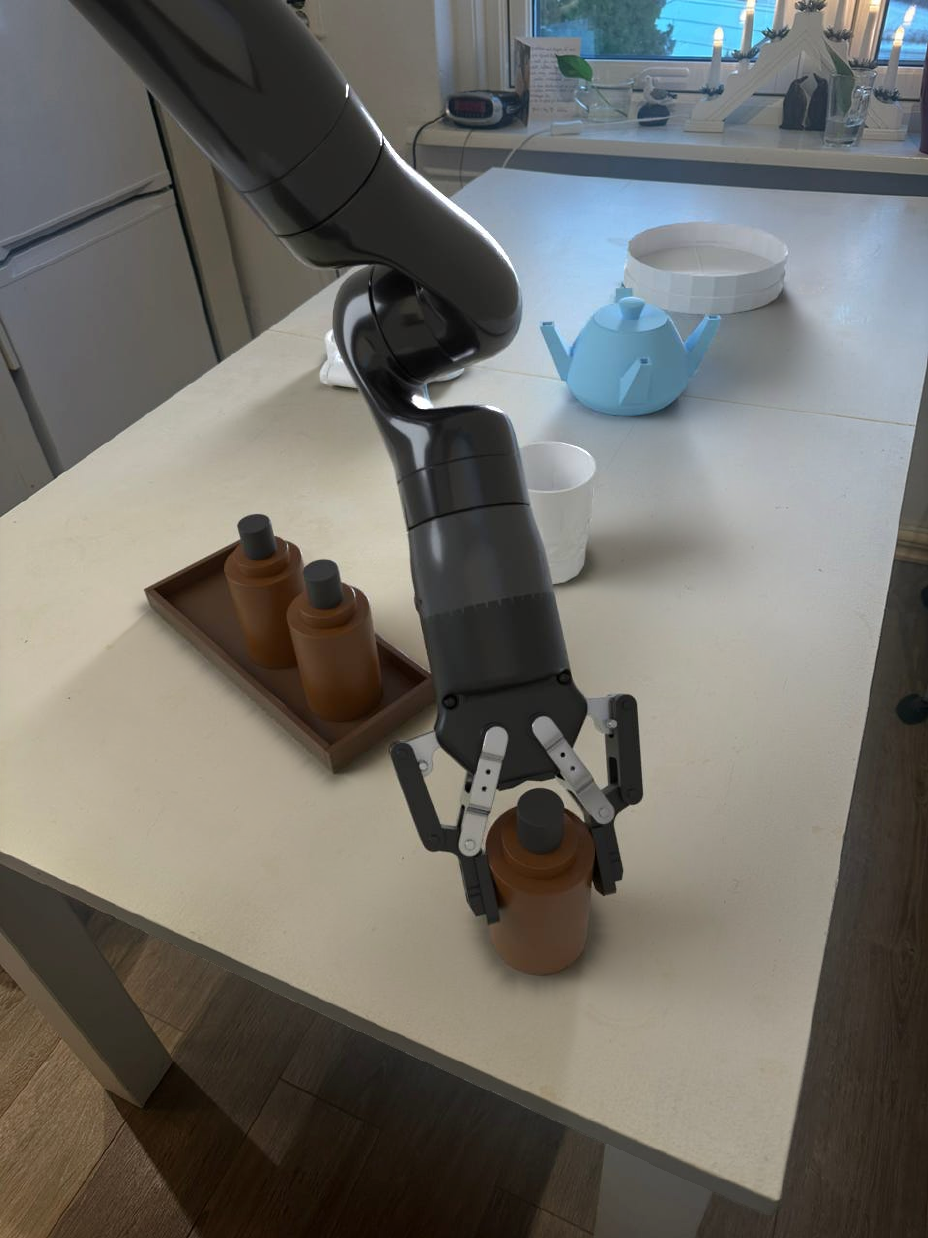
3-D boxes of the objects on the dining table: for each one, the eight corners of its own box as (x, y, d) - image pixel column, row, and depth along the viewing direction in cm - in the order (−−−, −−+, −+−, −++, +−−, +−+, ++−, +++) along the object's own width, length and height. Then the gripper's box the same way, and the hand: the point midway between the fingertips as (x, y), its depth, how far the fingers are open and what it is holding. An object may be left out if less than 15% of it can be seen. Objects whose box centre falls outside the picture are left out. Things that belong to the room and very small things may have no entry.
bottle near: (319, 732, 63) (290, 608, 55) (297, 681, 67) (267, 558, 60) (394, 706, 65) (376, 581, 57) (368, 658, 69) (348, 535, 61)
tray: (150, 607, 76) (143, 589, 75) (248, 555, 81) (244, 536, 80) (333, 774, 61) (329, 755, 60) (440, 697, 66) (438, 678, 65)
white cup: (484, 567, 78) (480, 471, 71) (536, 526, 82) (537, 432, 76) (556, 602, 74) (560, 503, 67) (607, 556, 78) (615, 459, 72)
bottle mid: (257, 678, 68) (222, 556, 60) (240, 633, 72) (205, 513, 64) (328, 655, 70) (303, 532, 62) (308, 612, 74) (282, 492, 66)
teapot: (720, 389, 101) (735, 297, 94) (639, 439, 93) (649, 342, 86) (615, 352, 109) (622, 264, 102) (534, 394, 102) (535, 303, 95)
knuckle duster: (298, 388, 106) (350, 338, 116) (436, 406, 101) (477, 353, 111) (293, 362, 104) (346, 313, 114) (434, 379, 99) (477, 327, 109)
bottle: (516, 992, 49) (514, 874, 41) (473, 907, 53) (464, 785, 45) (605, 950, 51) (620, 829, 43) (557, 870, 55) (563, 746, 47)
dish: (768, 254, 132) (775, 219, 128) (796, 314, 115) (804, 275, 112) (619, 256, 134) (622, 222, 131) (626, 315, 118) (629, 277, 114)
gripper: (357, 621, 43) (426, 961, 42) (631, 567, 45) (701, 890, 44) (355, 631, 50) (413, 920, 50) (590, 584, 53) (650, 861, 52)
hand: (549, 904), depth 47 cm, fingers closed on bottle, 6 cm apart
